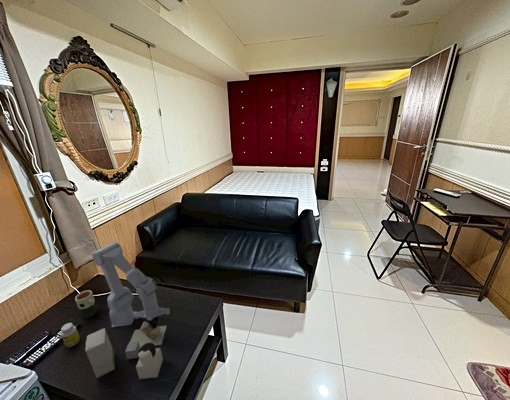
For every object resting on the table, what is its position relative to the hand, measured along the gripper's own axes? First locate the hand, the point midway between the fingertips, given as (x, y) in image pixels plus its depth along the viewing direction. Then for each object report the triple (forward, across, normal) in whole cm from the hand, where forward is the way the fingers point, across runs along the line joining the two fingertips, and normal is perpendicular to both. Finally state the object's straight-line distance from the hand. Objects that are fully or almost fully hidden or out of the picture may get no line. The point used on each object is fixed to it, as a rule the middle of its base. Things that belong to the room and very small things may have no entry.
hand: (155, 326), depth 100 cm
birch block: (+5, -1, 0) cm, 5 cm away
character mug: (+6, -40, +20) cm, 45 cm away
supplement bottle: (+6, -39, +4) cm, 40 cm away
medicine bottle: (+6, +2, -15) cm, 16 cm away
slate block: (+6, -8, -8) cm, 12 cm away
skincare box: (+6, -18, -10) cm, 22 cm away
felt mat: (+6, -4, 0) cm, 7 cm away
